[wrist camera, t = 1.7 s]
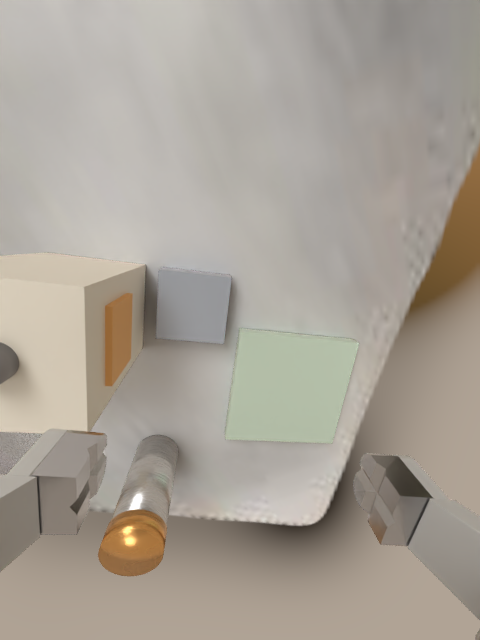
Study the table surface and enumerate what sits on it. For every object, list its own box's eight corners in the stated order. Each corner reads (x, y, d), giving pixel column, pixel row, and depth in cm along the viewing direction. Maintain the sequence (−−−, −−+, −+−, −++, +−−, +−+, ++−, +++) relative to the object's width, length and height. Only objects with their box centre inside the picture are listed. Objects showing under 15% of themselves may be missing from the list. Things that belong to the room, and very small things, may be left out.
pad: (224, 431, 29) (225, 439, 28) (239, 327, 26) (240, 332, 25) (327, 436, 31) (332, 443, 30) (353, 339, 28) (359, 343, 27)
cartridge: (135, 468, 30) (98, 577, 20) (136, 433, 28) (97, 531, 19) (177, 469, 30) (161, 575, 21) (180, 435, 29) (165, 530, 19)
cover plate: (160, 329, 26) (155, 338, 23) (163, 266, 24) (158, 269, 22) (222, 334, 27) (223, 343, 24) (229, 274, 25) (231, 277, 23)
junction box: (52, 341, 25) (-124, 453, 12) (47, 252, 22) (-176, 268, 10) (146, 348, 26) (81, 458, 13) (150, 265, 24) (76, 294, 11)
